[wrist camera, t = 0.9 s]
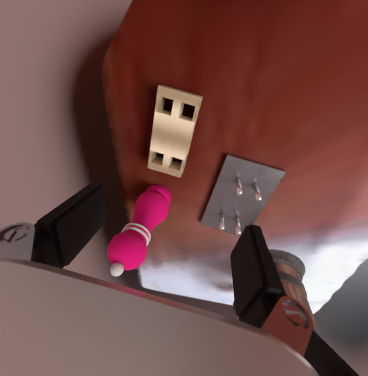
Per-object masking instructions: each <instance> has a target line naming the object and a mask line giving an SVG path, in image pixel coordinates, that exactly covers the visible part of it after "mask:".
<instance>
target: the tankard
mask: <svg viewBox="0 0 368 376" xmlns="http://www.w3.org/2000/svg"><path fill="white" fill-rule="evenodd" d="M268 251H269V252H270V253H271V255H272V258H273V261H274V264H275V266H276V269H277V272H278V275H279V278H280V280H281V283H282V286H283V289H284V292H285V294H286V296H288V297H291V298H293V299H295V300H297V301H298V302H299V303H301V304H302V305H303V306H304V307H305V308H306V310H307V311H308V313H309V314H310V316H311V318H312V321H313V330H314V331H315V332H316V333H317V334H318V335H319V336H320V337H321V338H322V336H321V334H320V333H319V330H318V328H317V325H316V322H315V319H314V317H313V314H312V311H311V308H310V306H309V303H308V300H307V293H306V291H305V288H304V285H303V283H302V282H301V281H302V279H303V276H304V274H305V266H304V264H303V262H302V261H301V260H300V259H299V258H298V257H296V256H295V255H293V254H291V253H289V252H285V251H281V250H268ZM233 310H234V312H235V313H236V309H235V300H234V303H233ZM322 339H323V338H322Z"/></svg>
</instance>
